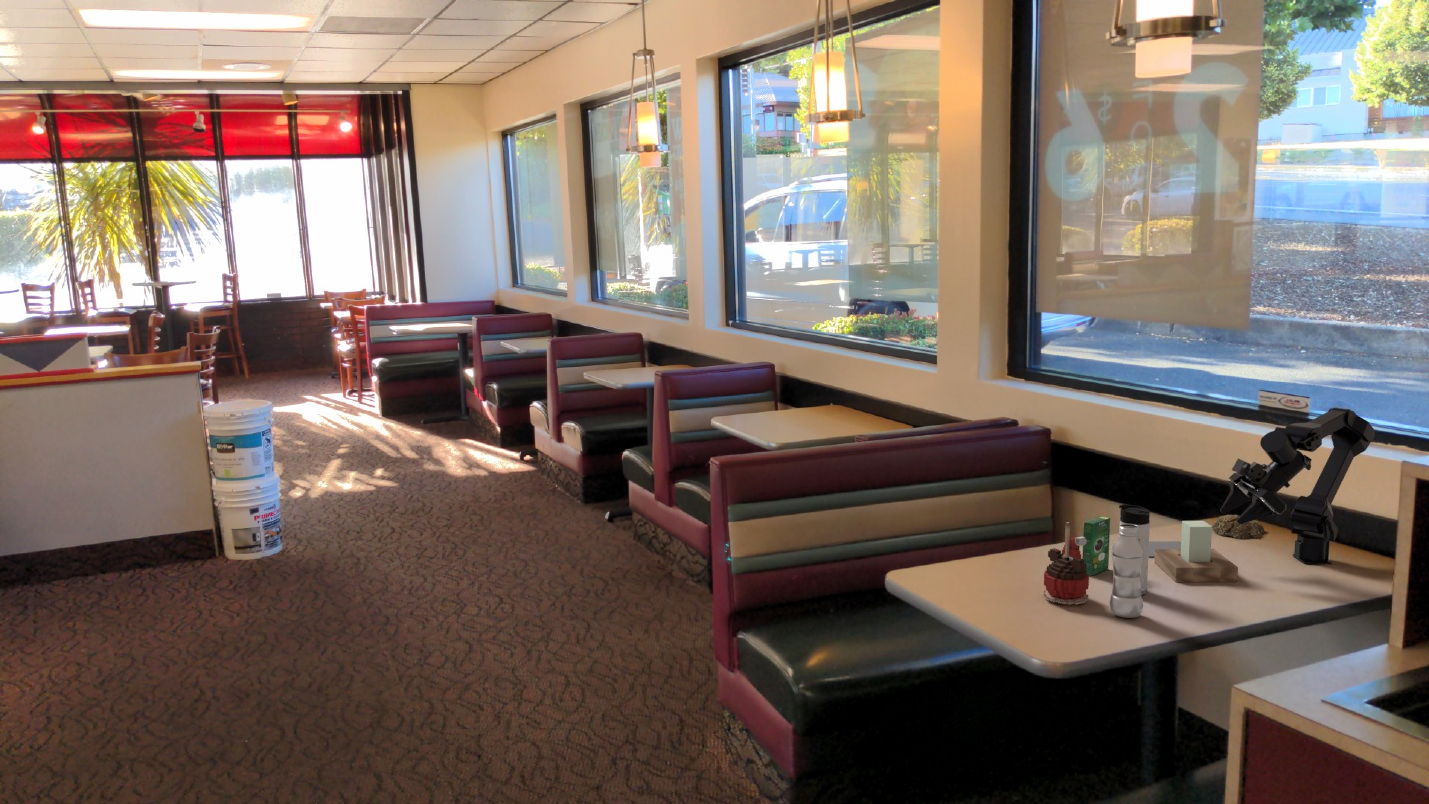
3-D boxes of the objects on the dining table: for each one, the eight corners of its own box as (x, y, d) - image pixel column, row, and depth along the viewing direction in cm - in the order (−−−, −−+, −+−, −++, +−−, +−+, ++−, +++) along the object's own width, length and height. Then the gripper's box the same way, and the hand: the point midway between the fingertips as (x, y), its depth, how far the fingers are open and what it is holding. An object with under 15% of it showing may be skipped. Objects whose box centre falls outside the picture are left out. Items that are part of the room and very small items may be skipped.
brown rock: (1216, 524, 286) (1217, 506, 285) (1266, 530, 278) (1267, 512, 278) (1207, 536, 275) (1208, 518, 275) (1258, 543, 268) (1259, 524, 267)
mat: (1179, 542, 269) (1179, 541, 269) (1198, 557, 258) (1198, 555, 258) (1132, 543, 270) (1132, 541, 270) (1148, 557, 258) (1148, 556, 258)
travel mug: (1123, 584, 240) (1126, 501, 237) (1151, 591, 236) (1154, 506, 232) (1111, 591, 236) (1114, 507, 233) (1139, 598, 231) (1143, 512, 228)
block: (1201, 568, 249) (1203, 520, 247) (1209, 575, 245) (1212, 526, 243) (1179, 568, 250) (1182, 520, 248) (1187, 575, 245) (1190, 526, 243)
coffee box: (1098, 566, 253) (1100, 514, 251) (1109, 569, 251) (1111, 516, 249) (1080, 573, 248) (1082, 521, 246) (1091, 576, 246) (1093, 523, 244)
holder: (1212, 562, 254) (1213, 548, 253) (1237, 581, 240) (1238, 567, 239) (1154, 562, 255) (1154, 549, 254) (1175, 582, 241) (1176, 567, 240)
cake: (1033, 595, 235) (1034, 519, 232) (1065, 589, 239) (1067, 514, 236) (1066, 611, 225) (1068, 531, 222) (1099, 603, 229) (1101, 525, 226)
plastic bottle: (1145, 622, 218) (1149, 531, 214) (1111, 620, 219) (1114, 530, 216) (1139, 611, 224) (1143, 522, 221) (1106, 609, 225) (1109, 521, 222)
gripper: (1239, 439, 250) (1190, 484, 253) (1275, 456, 232) (1222, 504, 235) (1271, 470, 251) (1222, 515, 254) (1309, 490, 233) (1256, 537, 235)
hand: (1229, 517), depth 244 cm, fingers open, 9 cm apart
